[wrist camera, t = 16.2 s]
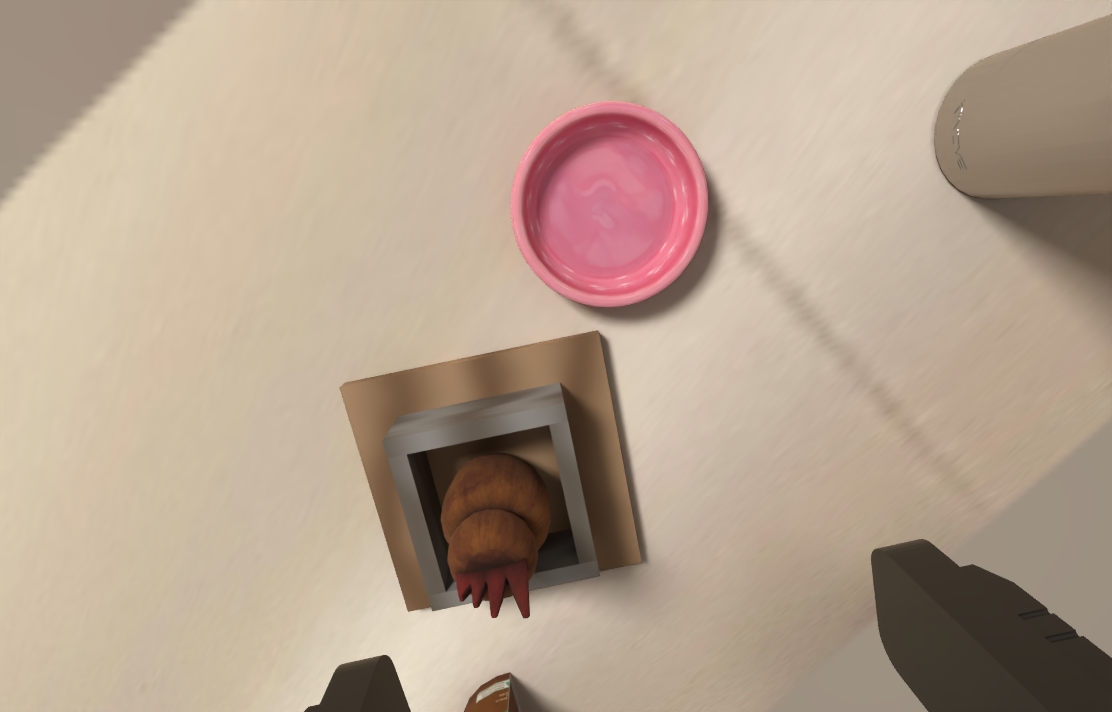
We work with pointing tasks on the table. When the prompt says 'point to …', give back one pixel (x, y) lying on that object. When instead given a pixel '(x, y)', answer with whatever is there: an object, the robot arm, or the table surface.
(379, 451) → the collar board
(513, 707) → the food container
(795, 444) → the table surface
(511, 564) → the wooden figurine
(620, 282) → the saucer
